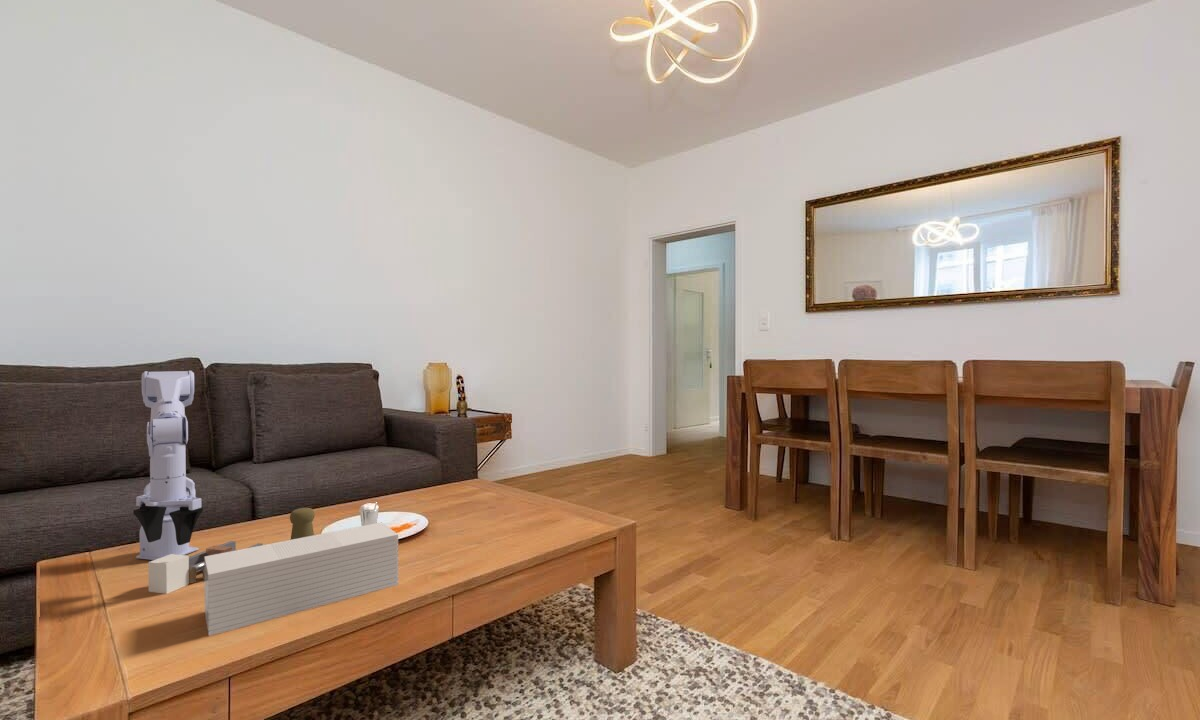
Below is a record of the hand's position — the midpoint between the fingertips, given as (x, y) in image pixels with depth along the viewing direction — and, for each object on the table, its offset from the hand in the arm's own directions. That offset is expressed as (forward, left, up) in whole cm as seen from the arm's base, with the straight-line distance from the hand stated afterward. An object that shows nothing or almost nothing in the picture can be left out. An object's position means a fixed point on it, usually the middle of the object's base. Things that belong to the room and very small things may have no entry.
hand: (169, 542), depth 111 cm
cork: (+13, +22, -10) cm, 27 cm away
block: (0, 0, -10) cm, 10 cm away
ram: (0, +7, -9) cm, 12 cm away
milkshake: (+22, +35, -10) cm, 42 cm away
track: (0, +12, -9) cm, 15 cm away
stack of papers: (+31, +2, -10) cm, 33 cm away
